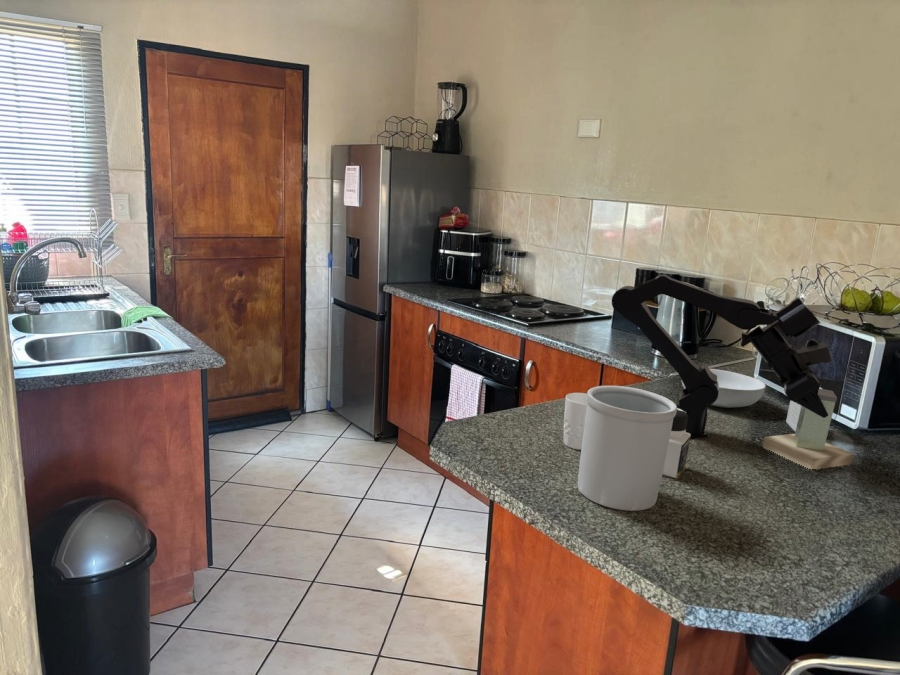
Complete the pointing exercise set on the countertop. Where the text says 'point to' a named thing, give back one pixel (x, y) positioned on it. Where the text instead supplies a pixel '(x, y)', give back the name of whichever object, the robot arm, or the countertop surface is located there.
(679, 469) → the medicine bottle
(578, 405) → the white cup
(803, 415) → the tea tin
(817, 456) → the wooden block
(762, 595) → the countertop surface
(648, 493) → the utensil holder
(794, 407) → the small box
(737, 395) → the serving bowl
